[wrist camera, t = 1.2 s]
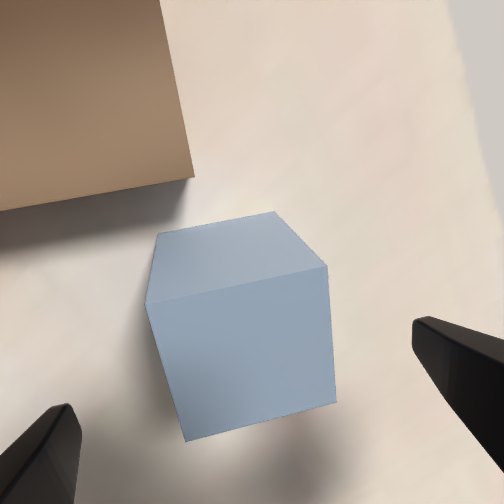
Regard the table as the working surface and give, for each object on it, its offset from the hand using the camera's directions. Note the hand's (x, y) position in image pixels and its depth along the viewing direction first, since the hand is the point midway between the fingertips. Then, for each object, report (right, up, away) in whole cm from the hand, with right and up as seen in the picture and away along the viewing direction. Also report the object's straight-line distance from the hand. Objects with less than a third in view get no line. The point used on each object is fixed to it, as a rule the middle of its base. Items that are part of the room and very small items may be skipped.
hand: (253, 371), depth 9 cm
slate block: (-1, +2, +5) cm, 6 cm away
